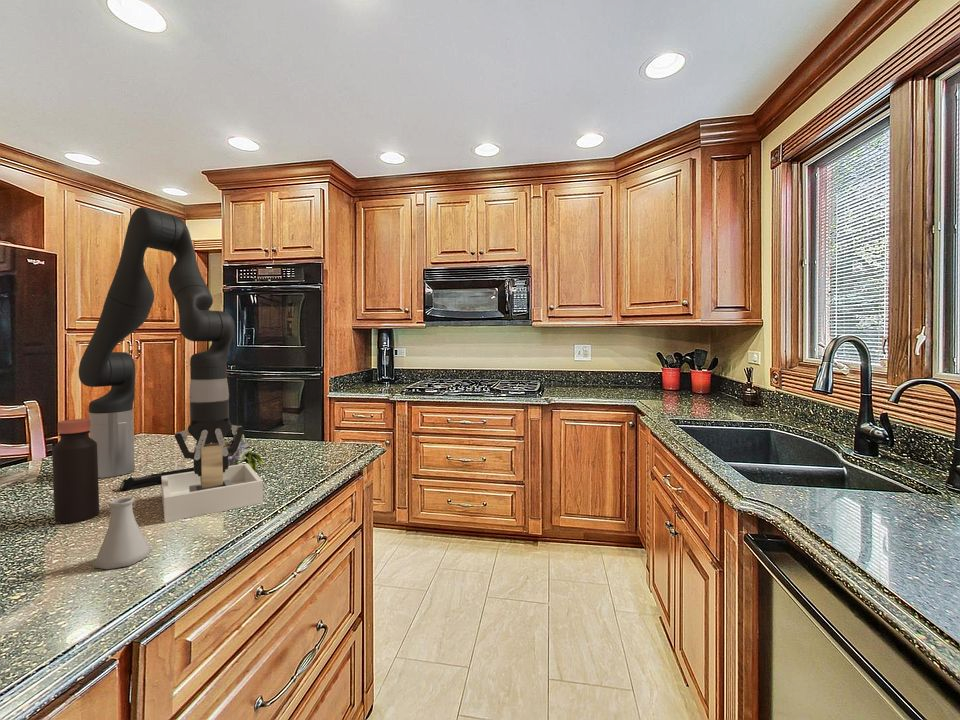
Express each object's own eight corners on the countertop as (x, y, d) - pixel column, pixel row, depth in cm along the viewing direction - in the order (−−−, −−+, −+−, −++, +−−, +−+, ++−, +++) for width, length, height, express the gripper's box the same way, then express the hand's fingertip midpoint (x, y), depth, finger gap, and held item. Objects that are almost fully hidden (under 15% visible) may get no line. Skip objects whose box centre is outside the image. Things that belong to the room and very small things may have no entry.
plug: (200, 483, 100) (199, 444, 100) (220, 480, 103) (219, 442, 103) (202, 488, 97) (201, 447, 97) (223, 484, 100) (222, 445, 99)
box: (161, 497, 102) (161, 476, 102) (248, 482, 113) (247, 463, 113) (164, 522, 88) (164, 498, 87) (263, 502, 99) (262, 480, 98)
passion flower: (226, 493, 121) (199, 458, 120) (254, 474, 131) (229, 442, 130) (252, 474, 117) (224, 438, 117) (278, 456, 128) (252, 423, 127)
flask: (116, 550, 76) (114, 493, 76) (160, 548, 77) (158, 492, 76) (82, 571, 69) (79, 509, 69) (130, 570, 70) (128, 508, 69)
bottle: (107, 510, 94) (104, 417, 93) (84, 523, 87) (81, 423, 87) (71, 512, 93) (67, 418, 92) (45, 525, 86) (41, 424, 85)
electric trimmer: (196, 480, 116) (196, 468, 116) (121, 493, 105) (120, 480, 105) (192, 477, 119) (192, 465, 119) (119, 489, 108) (118, 477, 108)
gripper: (241, 394, 107) (243, 464, 107) (170, 399, 98) (172, 475, 99) (247, 397, 101) (249, 471, 101) (172, 403, 92) (174, 483, 93)
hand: (211, 473), depth 100 cm, fingers closed on plug, 4 cm apart
